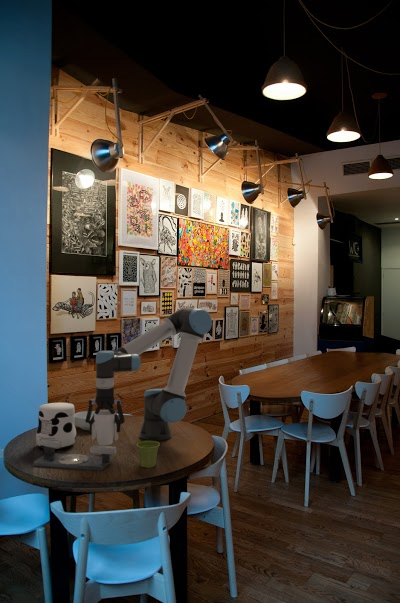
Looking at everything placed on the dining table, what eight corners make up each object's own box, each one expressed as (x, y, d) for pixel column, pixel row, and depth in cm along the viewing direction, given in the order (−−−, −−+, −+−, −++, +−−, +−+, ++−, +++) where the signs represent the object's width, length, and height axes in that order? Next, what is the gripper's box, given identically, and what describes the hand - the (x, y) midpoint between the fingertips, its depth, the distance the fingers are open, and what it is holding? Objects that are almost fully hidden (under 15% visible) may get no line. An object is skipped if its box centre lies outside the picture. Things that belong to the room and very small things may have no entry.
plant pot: (139, 470, 191) (140, 448, 190) (133, 463, 199) (133, 442, 199) (162, 468, 194) (163, 446, 194) (155, 460, 203) (155, 439, 203)
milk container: (73, 439, 231) (74, 401, 231) (78, 450, 214) (78, 409, 214) (35, 442, 225) (35, 403, 225) (36, 453, 208) (37, 411, 208)
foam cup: (97, 447, 204) (97, 416, 204) (91, 441, 213) (91, 411, 212) (119, 444, 209) (119, 413, 209) (112, 438, 217) (112, 409, 217)
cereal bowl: (94, 434, 240) (94, 419, 240) (66, 430, 246) (66, 416, 246) (112, 426, 256) (113, 412, 256) (85, 422, 262) (85, 409, 262)
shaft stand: (120, 460, 202) (120, 442, 202) (110, 471, 189) (111, 452, 189) (41, 455, 207) (41, 437, 207) (26, 465, 194) (26, 446, 194)
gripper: (77, 388, 208) (77, 440, 208) (127, 389, 205) (127, 443, 206) (83, 384, 215) (83, 435, 216) (132, 386, 213) (132, 437, 213)
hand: (105, 439), depth 211 cm, fingers closed on foam cup, 9 cm apart
